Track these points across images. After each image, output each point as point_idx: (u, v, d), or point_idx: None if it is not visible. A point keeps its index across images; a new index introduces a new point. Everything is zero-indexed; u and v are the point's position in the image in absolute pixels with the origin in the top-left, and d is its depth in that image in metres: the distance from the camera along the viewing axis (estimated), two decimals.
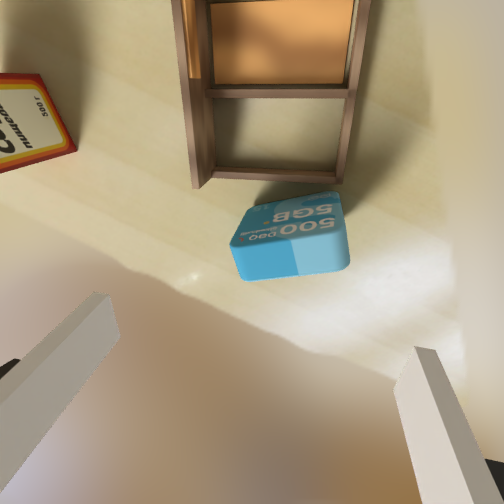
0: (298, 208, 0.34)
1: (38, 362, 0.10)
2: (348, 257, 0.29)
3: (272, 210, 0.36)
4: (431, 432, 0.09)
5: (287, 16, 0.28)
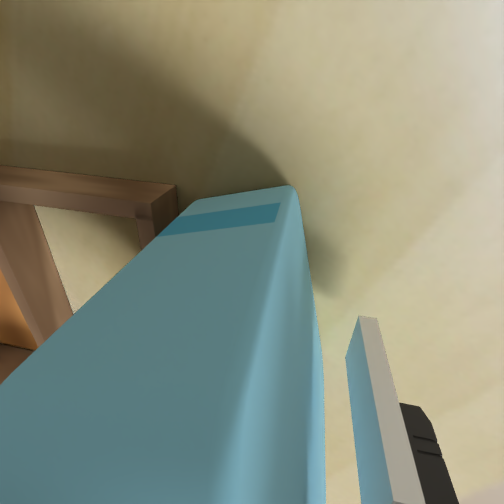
0: None
1: None
2: (166, 426, 0.04)
3: None
4: (363, 384, 0.10)
5: None
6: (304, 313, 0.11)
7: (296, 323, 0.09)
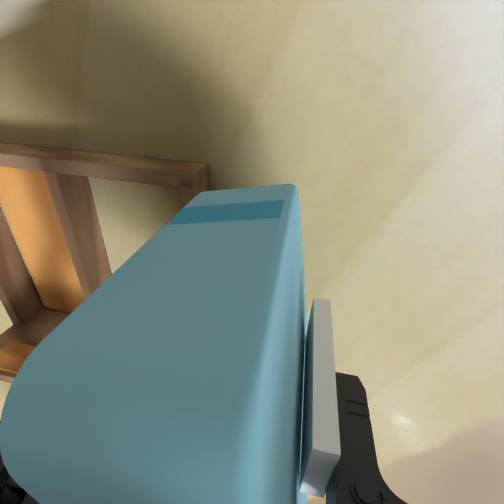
0: None
1: None
2: (196, 385, 0.04)
3: None
4: (310, 358, 0.11)
5: (27, 236, 0.24)
6: (298, 305, 0.12)
7: (293, 312, 0.09)
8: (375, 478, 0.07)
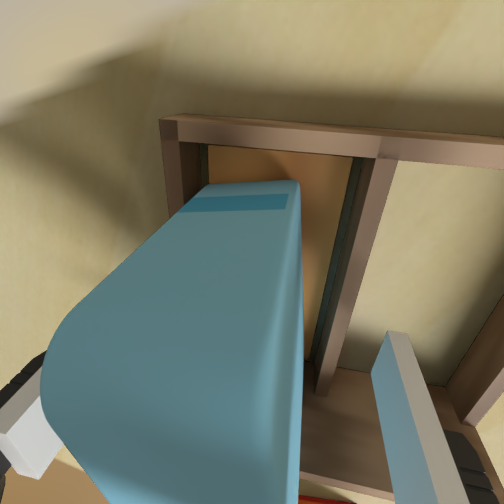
0: None
1: None
2: (218, 342, 0.05)
3: None
4: (398, 406, 0.10)
5: None
6: (298, 293, 0.12)
7: (294, 297, 0.10)
8: None
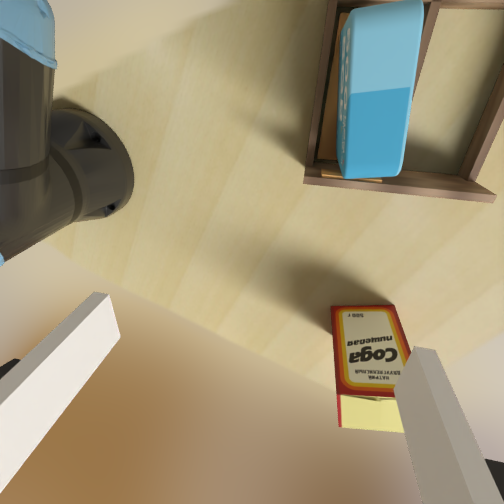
0: (340, 86, 0.28)
1: (38, 362, 0.10)
2: (407, 0, 0.19)
3: (338, 123, 0.30)
4: (431, 432, 0.09)
5: None
6: None
7: None
8: None
